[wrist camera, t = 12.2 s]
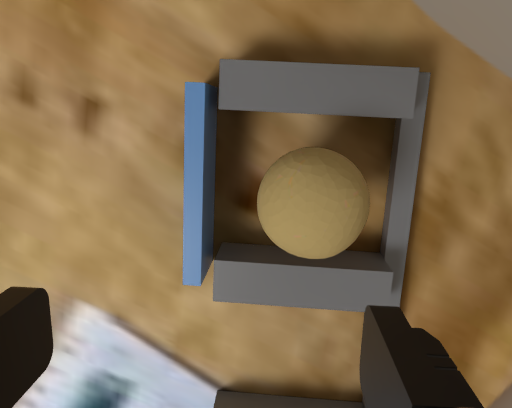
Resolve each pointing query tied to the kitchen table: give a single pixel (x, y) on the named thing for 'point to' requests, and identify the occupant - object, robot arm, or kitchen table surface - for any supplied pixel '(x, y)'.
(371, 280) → the gray e-shaped frame
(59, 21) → the kitchen table surface
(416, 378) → the robot arm
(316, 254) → the light bulb
